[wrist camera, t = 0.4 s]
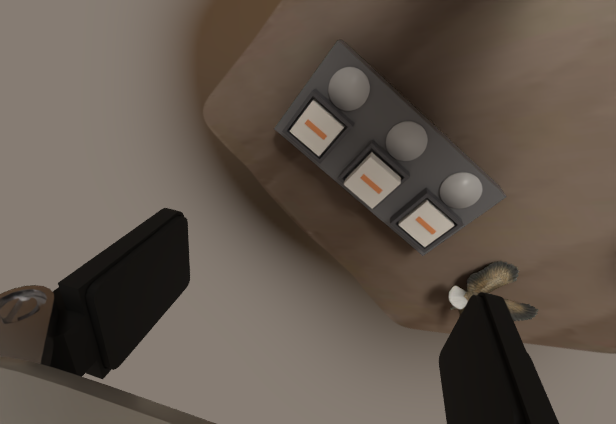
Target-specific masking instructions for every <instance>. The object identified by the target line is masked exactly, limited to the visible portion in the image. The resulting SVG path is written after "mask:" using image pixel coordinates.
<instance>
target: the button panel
mask: <svg viewBox="0 0 616 424" xmlns="http://www.w3.org/2000/svg"><path fill="white" fill-rule="evenodd" d="M315 98H316V99H317V100H318V101H319V102H320V103H321V104H322V105H323V106H325V107H326V108H327V109H328V110H329V111H330V112H331V113H332V114H334V115H335V116H336V117H337V118H338V119H339V120H340V121H341V122H343V123H344V124H345V127H344V128H343V129H342V130H341V132H340V133H339V134H338V135H337V136H336V137H335V138H334V140H333V141H332V142H331V143H330V144H329V145H328V147H327V148H326V149H325V150H324V151H323V152H322V153H321V155H320V156H318V155H317V154H315V153H314V152H313V151H312V150H311V149H310V148H308V147H307V146H306V145H305V144H304V143H303V142H301V141H300V140H299V139H298V138H297V137H296V136H294V135H293V134H292V133H291V132H290V130H291V129H292V127H293V126H294V125H295V123H296V122H297V121H298V119H299V118H300V117H301V115H302V114H303V113H304V111H305V110H306V109H307V107H308V106H309V105H310V104H311V102H312V101H313V100H314V99H315ZM274 129H275V130H276V131H277V132H278V133H279V134H281V135H282V136H283V137H284V138H285V139H287V140H288V141H289V142H290V143H291V144H292V145H294V146H295V147H296V148H297V149H298V150H299V151H301V152H302V153H303V154H304V155H305V156H306V157H308V158H309V159H310V160H311V161H312V162H313V163H315V164H316V165H317V166H318V167H319V168H320V169H322V170H323V171H324V172H325V173H326V174H328V175H329V176H330V177H331V178H332V179H333V180H335V181H336V182H337V183H338V184H339V185H340V186H342V187H343V188H344V189H345V190H346V191H347V192H349V193H350V194H351V195H352V196H353V197H354V198H356V199H357V200H358V201H359V202H360V203H362V204H363V205H364V206H365V207H366V208H367V209H369V210H370V211H371V212H372V213H373V214H374V215H376V216H377V217H378V218H379V219H380V220H381V221H383V222H384V223H385V224H386V225H387V226H388V227H390V228H391V229H392V230H393V231H394V232H395V233H397V234H398V235H399V236H400V237H401V238H403V239H404V240H405V241H406V242H407V243H408V244H410V245H411V246H412V247H413V248H414V249H415V250H417V251H418V252H419V253H420V254H421V255H422V256H423V255H425V254H426V253H428V252H429V251H431V250H432V249H433V248H435V247H436V246H438V245H439V244H440V243H442V242H443V241H445V240H446V239H448V238H449V237H450V236H452V235H453V234H455V233H456V232H457V231H459V230H460V229H462V228H463V227H465V226H466V225H467V224H469V223H470V222H472V221H473V220H474V219H476V218H477V217H479V216H480V215H482V214H483V213H484V212H486V211H487V210H489V209H490V208H491V207H493V206H494V205H496V204H497V203H498V202H500V201H501V200H503V199H504V198H506V197H507V196H506V195H505V193H504V192H503V190H502V189H501V187H500V186H499V185H498V184H497V183H496V182H495V181H494V180H493V179H492V178H490V177H489V176H488V175H487V174H486V173H485V172H484V171H483V170H482V169H481V168H480V167H479V166H478V165H476V164H475V163H474V162H473V161H472V160H471V159H470V158H469V157H468V156H467V155H466V154H465V153H464V152H462V151H461V150H460V149H459V148H458V147H457V146H456V145H455V144H454V143H453V142H452V141H451V140H450V139H448V138H447V137H446V136H445V135H444V134H443V133H442V132H441V131H440V130H439V129H438V128H437V127H436V126H434V125H433V124H432V123H431V122H430V121H429V120H428V119H427V118H426V117H425V116H424V115H423V114H422V113H421V112H419V111H418V110H417V109H416V108H415V107H414V106H413V105H412V104H411V103H410V102H409V101H408V100H407V99H405V98H404V97H403V96H402V95H401V94H400V93H399V92H398V91H397V90H396V89H395V88H394V87H393V86H391V85H390V84H389V83H388V82H387V81H386V80H385V79H384V78H383V77H382V76H381V75H380V74H379V73H377V72H376V71H375V70H374V69H373V68H372V67H371V66H370V65H369V64H368V63H367V62H366V61H365V60H363V59H362V58H361V57H360V56H359V55H358V54H357V53H356V52H355V51H354V50H353V49H352V48H351V47H350V46H348V45H347V44H346V43H345V42H344V41H343V40H337V42H336V43H335V45H334V46H333V47H332V49H331V50H330V52H329V53H328V54H327V56H326V57H325V59H324V60H323V61H322V63H321V64H320V65H319V67H318V68H317V70H316V71H315V72H314V74H313V75H312V77H311V78H310V79H309V81H308V82H307V84H306V85H305V86H304V88H303V89H302V90H301V92H300V93H299V95H298V96H297V97H296V99H295V100H294V102H293V103H292V104H291V106H290V107H289V109H288V110H287V111H286V113H285V114H284V116H283V117H282V118H281V120H280V121H279V122H278V124H277V125H276V127H275V128H274ZM371 152H372V153H373V154H375V155H376V156H377V157H378V158H379V159H380V160H381V161H382V162H384V163H385V164H386V165H387V166H388V167H389V168H390V169H392V170H393V171H394V172H395V173H396V174H397V175H398V176H399V177H401V184H400V185H398V186H397V187H396V188H395V189H394V190H393V191H392V192H391V193H390V194H388V195H387V196H386V197H385V198H384V199H383V200H382V201H381V202H379V203H378V204H377V205H376V206H375V207H374V208H373V209H372V208H371V207H369V206H368V205H367V204H366V203H365V202H364V201H362V200H361V199H360V198H359V197H358V196H357V195H355V194H354V193H353V192H352V191H351V190H350V189H348V188H347V187H346V186H345V185H344V182H345V179H346V178H347V177H348V176H349V175H350V174H351V173H352V172H353V171H354V170H355V169H356V168H357V167H358V166H359V165H360V164H361V163H362V161H363V160H364V159H365V158H366V157H367V156H368V155H369V154H370V153H371ZM426 198H428V199H429V200H431V201H432V202H433V203H434V204H435V205H436V206H437V207H438V208H440V209H441V210H442V211H443V212H444V213H445V214H446V215H447V216H449V217H450V218H451V219H452V220H453V222H454V226H453V227H452V228H451V229H449V230H448V231H447V232H445V233H444V234H442V235H441V236H440V237H438V238H437V239H435V240H434V241H433V242H431V243H430V244H429V245H427V246H426V247H424V246H423V245H421V244H420V243H419V242H418V241H417V240H416V239H414V238H413V237H412V236H411V235H410V234H409V233H407V232H406V231H405V230H404V229H403V228H402V227H400V226H399V225H398V221H399V220H400V219H401V218H403V217H404V216H405V215H406V214H407V213H409V212H410V211H411V210H412V209H414V208H415V207H416V206H417V205H418V204H420V203H421V202H422V201H423V200H425V199H426Z"/></svg>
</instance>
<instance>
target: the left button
mask: <svg viewBox="0 0 616 424" xmlns="http://www.w3.org/2000/svg"><path fill="white" fill-rule="evenodd" d="M344 127H345V124H344V123H343V122H341V121H340V120H339V119H338V118H337V117H336V116H335V115H334V114H332V113H331V112H330V111H329V110H328V109H327V108H326V107H325V106H323V105H322V104H321V103H320V102H319V101H318V100H317V99H316V98H315V99H314V100H313V101H312V102H311V104H310V105H309V106H308V107H307V109H306V110H305V111H304V113H303V114H302V115H301V117H300V118H299V119H298V121H297V122H296V123H295V125H294V126H293V127H292V129H291V130H290V132H291V133H292V134H293V135H294V136H296V137H297V138H298V139H299V140H300V141H301V142H303V143H304V144H305V145H306V146H307V147H308V148H310V149H311V150H312V151H313V152H314V153H315V154H317V155H318V156H320V155H321V153H322V152H323V151H324V150H325V149H326V148H327V147H328V145H329V144H330V143H331V142H332V141H333V140H334V138H335V137H336V136H337V135H338V134H339V133H340V132H341V130H342V129H343V128H344Z"/></svg>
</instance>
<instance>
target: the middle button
mask: <svg viewBox="0 0 616 424" xmlns="http://www.w3.org/2000/svg"><path fill="white" fill-rule="evenodd" d="M400 184H401V177H399V176H398V175H397V174H396V173H395V172H394V171H393V170H392V169H390V168H389V167H388V166H387V165H386V164H385V163H384V162H382V161H381V160H380V159H379V158H378V157H377V156H376V155H375V154H373V153H372V152H371V153H370V154H369V155H368V156H367V157H366V158H365V159H364V160H363V161H362V163H361V164H360V165H359V166H358V167H357V168H356V169H355V170H354V171H353V172H352V173H351V174H350V175H349V176H348V177H347V178H346V179H345V182H344V185H345V186H346V187H347V188H348V189H350V190H351V191H352V192H353V193H354V194H355V195H357V196H358V197H359V198H360V199H361V200H362V201H364V202H365V203H366V204H367V205H368V206H369V207H371V208H372V209H373V208H374V207H375V206H376V205H377V204H378V203H379V202H381V201H382V200H383V199H384V198H385V197H386V196H387V195H388V194H390V193H391V192H392V191H393V190H394V189H395V188H396V187H397V186H398V185H400Z"/></svg>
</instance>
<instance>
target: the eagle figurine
mask: <svg viewBox="0 0 616 424" xmlns="http://www.w3.org/2000/svg"><path fill="white" fill-rule="evenodd" d="M517 269H518V267H515V266H514V265H513V264H508V265H507V262H505V263H503V262H502V261H500V262H494V263H492V264H489V266H487V267H485V268H484V270H481V271H478V273H473V274H472V275H470V277H469V278H468V279H467V288H466V290H467V291H464V290H463V289H461V288H459V287H458V286H454V287H452V289H451V290H450V291H449V301H450V303H451V304H452V305H453V306H454V307H451V308H450V310H453V309H458V310H459V313H460V315H461V313H462V312H463V310H464V308H465V306H466V304H467V302H468V301H469V299H470V297H471V296H472V295H478V294H479V293H480V292H485V293H488V294H489V293H490V292H491V291H493V290H495V289H497V288H499V287H501V286H503V285H505V284H508V283H512V282H514V281H516V280H517V279H516V278H517V277H518V274H517V273H518V272H519V270H517ZM504 300H505V302H506V305H507V307H508V310H509V312H510V314H511V317H512V319H513V321H516V320H518V321H520V320H522V321H523V320H528V319H532V318H533V317H535V315H537V314H538V313H536V312H537V311H538V309H535V307H533V306H530V305H529V304H523V303H518V302H514V301H511V300H508V299H504Z"/></svg>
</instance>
